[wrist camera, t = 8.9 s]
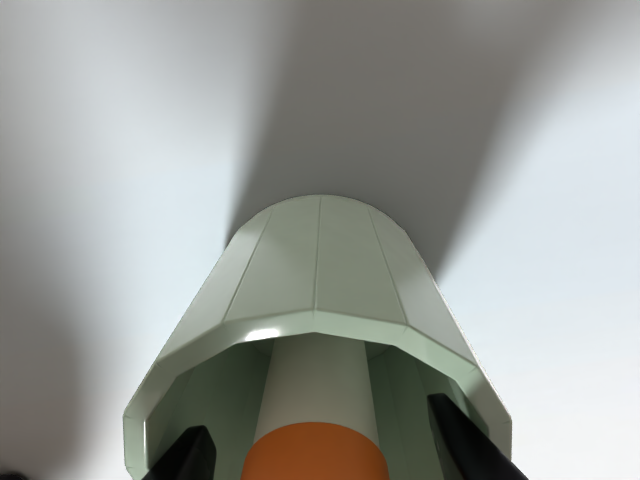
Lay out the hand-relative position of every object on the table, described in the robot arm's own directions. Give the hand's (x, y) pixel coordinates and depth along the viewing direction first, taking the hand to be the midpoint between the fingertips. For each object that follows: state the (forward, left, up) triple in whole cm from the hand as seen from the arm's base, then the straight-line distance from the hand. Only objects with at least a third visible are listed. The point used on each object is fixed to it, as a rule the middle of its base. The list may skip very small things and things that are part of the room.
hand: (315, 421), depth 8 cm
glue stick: (0, 0, -5) cm, 5 cm away
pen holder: (0, 0, -6) cm, 6 cm away
